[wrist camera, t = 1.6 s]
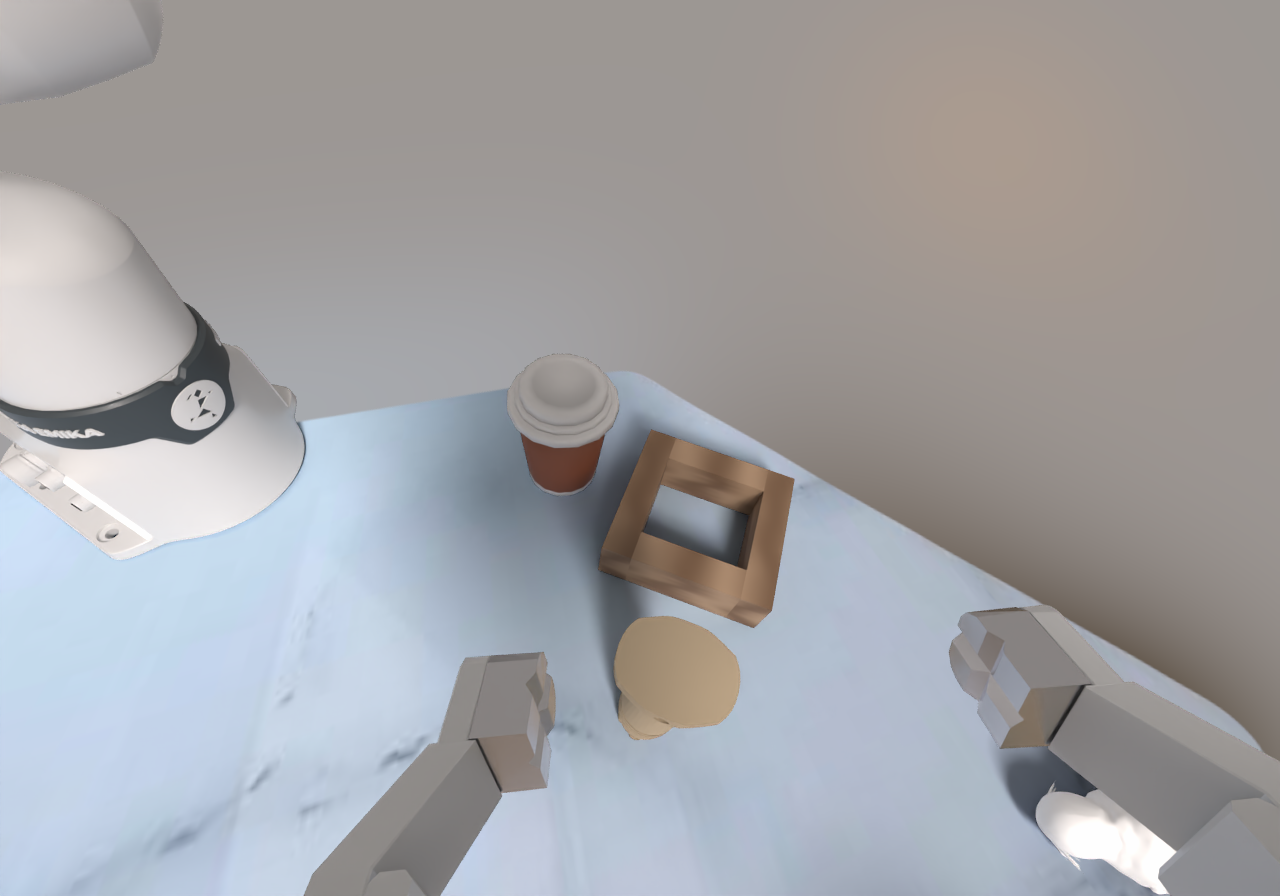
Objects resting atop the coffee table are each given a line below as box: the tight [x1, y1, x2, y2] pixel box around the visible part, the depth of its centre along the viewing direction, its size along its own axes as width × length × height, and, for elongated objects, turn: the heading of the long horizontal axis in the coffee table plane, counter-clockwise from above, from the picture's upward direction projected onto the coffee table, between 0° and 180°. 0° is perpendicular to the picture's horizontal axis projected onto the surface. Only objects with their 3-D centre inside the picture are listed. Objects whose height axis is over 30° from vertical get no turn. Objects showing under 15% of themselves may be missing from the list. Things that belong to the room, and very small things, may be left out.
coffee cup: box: [507, 354, 619, 496], centre depth 45 cm, size 9×9×12 cm
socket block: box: [598, 430, 794, 628], centre depth 45 cm, size 14×13×4 cm
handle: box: [614, 616, 740, 740], centre depth 32 cm, size 5×6×15 cm
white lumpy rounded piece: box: [1036, 780, 1176, 895], centre depth 34 cm, size 6×8×12 cm
